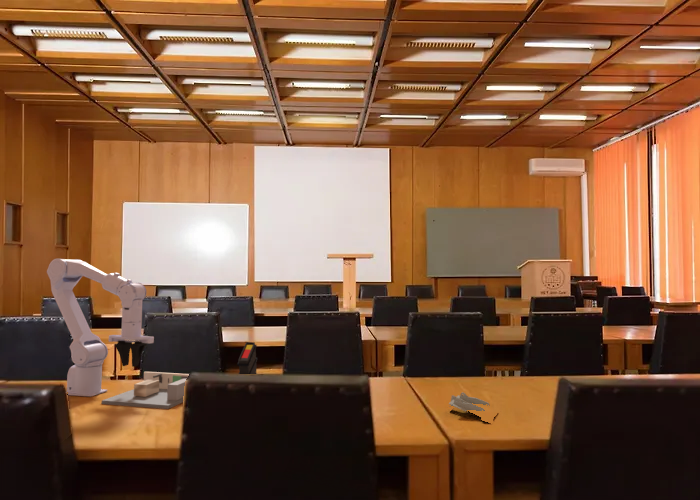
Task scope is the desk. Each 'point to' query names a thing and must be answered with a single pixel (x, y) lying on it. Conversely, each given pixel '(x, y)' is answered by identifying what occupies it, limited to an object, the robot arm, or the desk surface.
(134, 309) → the robot arm
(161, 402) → the gauge board
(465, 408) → the grey angular piece
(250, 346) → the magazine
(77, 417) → the desk surface
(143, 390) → the block
